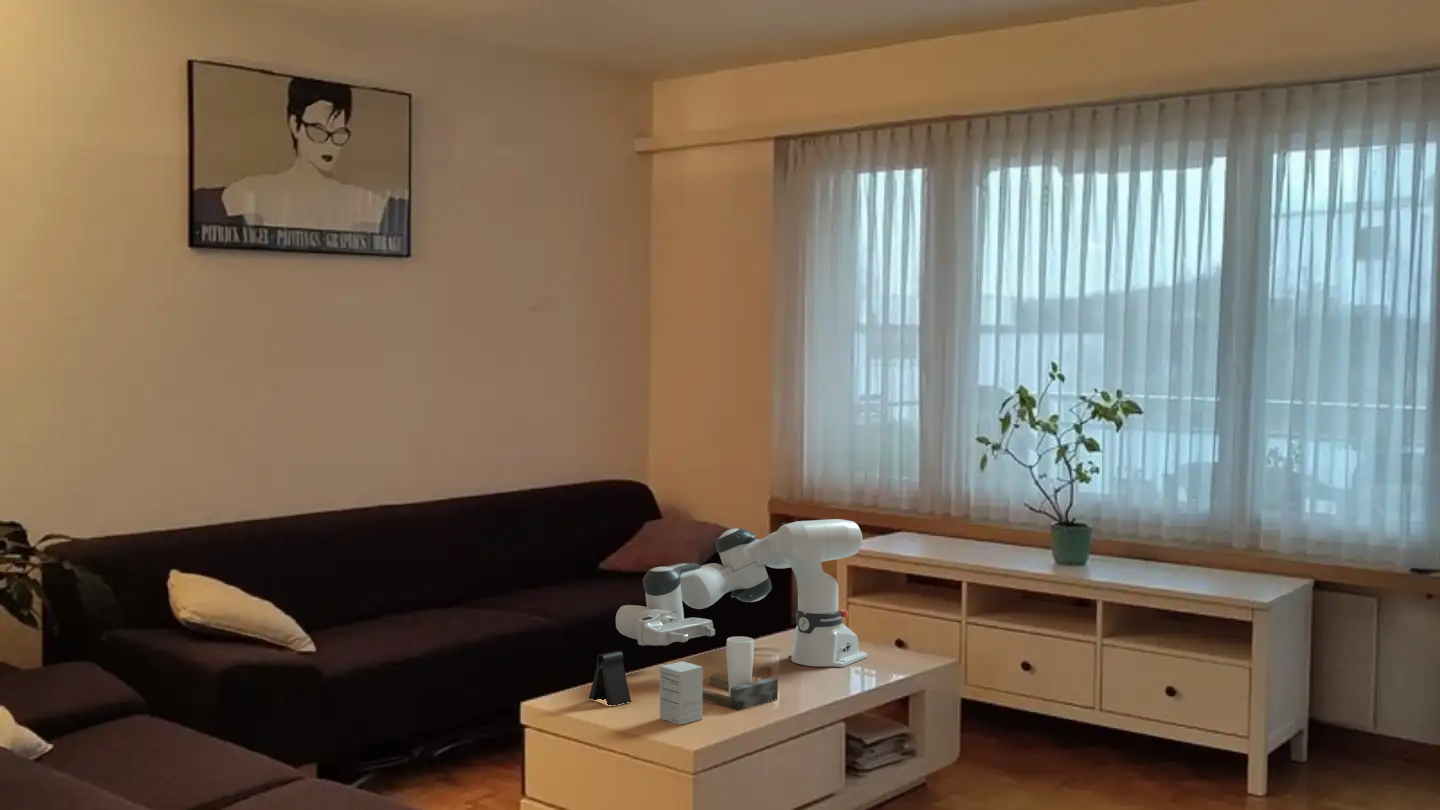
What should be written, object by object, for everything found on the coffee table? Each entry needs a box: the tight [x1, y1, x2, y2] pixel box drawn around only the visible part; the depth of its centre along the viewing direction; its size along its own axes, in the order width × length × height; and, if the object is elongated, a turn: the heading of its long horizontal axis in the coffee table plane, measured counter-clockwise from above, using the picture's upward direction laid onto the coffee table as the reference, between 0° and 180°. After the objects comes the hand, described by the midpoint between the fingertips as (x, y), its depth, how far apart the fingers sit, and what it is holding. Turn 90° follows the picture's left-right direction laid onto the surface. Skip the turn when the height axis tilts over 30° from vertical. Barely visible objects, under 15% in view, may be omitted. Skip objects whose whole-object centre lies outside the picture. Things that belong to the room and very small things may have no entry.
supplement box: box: [659, 660, 703, 726], centre depth 316 cm, size 7×7×13 cm
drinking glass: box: [725, 636, 755, 697], centre depth 333 cm, size 7×7×15 cm
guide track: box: [702, 674, 779, 711], centre depth 336 cm, size 14×22×5 cm, turn 45°
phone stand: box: [588, 650, 632, 706], centre depth 330 cm, size 9×6×12 cm, turn 44°
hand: (699, 635), depth 342 cm, fingers open, 8 cm apart
